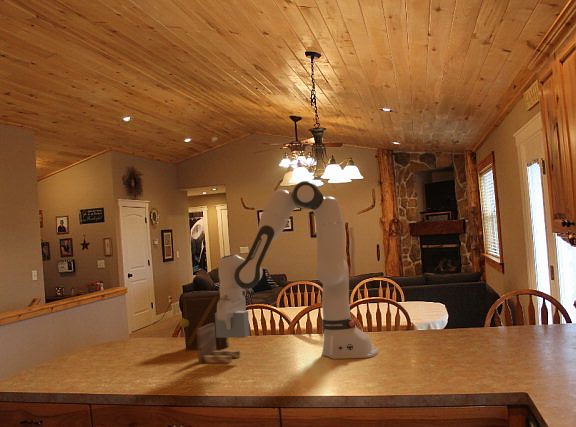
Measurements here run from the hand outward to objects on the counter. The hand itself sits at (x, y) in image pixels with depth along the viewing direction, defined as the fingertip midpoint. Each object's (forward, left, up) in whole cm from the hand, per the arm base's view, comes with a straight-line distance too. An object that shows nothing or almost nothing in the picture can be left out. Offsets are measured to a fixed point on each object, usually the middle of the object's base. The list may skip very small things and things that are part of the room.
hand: (232, 327), depth 220 cm
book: (+25, -20, -13) cm, 35 cm away
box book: (0, 0, -4) cm, 4 cm away
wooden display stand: (+6, 0, -13) cm, 14 cm away
